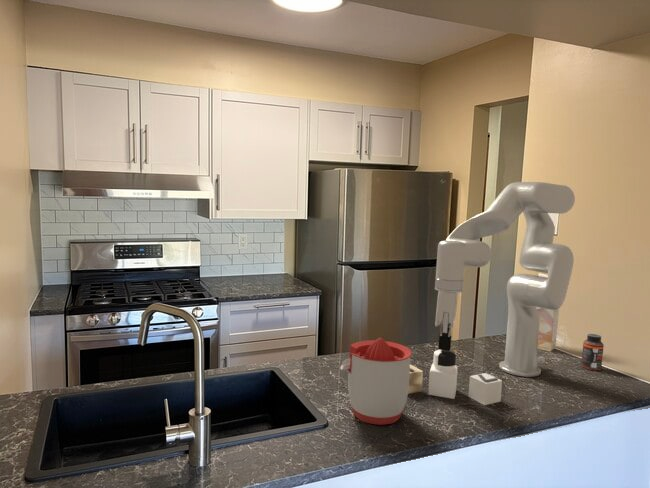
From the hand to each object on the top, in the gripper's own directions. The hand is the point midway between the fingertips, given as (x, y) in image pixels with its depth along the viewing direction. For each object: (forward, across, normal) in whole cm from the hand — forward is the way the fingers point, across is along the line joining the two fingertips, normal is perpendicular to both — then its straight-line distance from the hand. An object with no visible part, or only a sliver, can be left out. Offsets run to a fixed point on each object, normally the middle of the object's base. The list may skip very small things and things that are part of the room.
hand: (444, 349), depth 133 cm
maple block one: (+13, +1, -10) cm, 16 cm away
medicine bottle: (+13, 0, 0) cm, 13 cm away
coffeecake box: (+12, -60, +30) cm, 68 cm away
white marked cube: (+13, 0, +12) cm, 17 cm away
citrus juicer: (+13, +21, -15) cm, 29 cm away
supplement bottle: (+12, -41, +46) cm, 63 cm away
